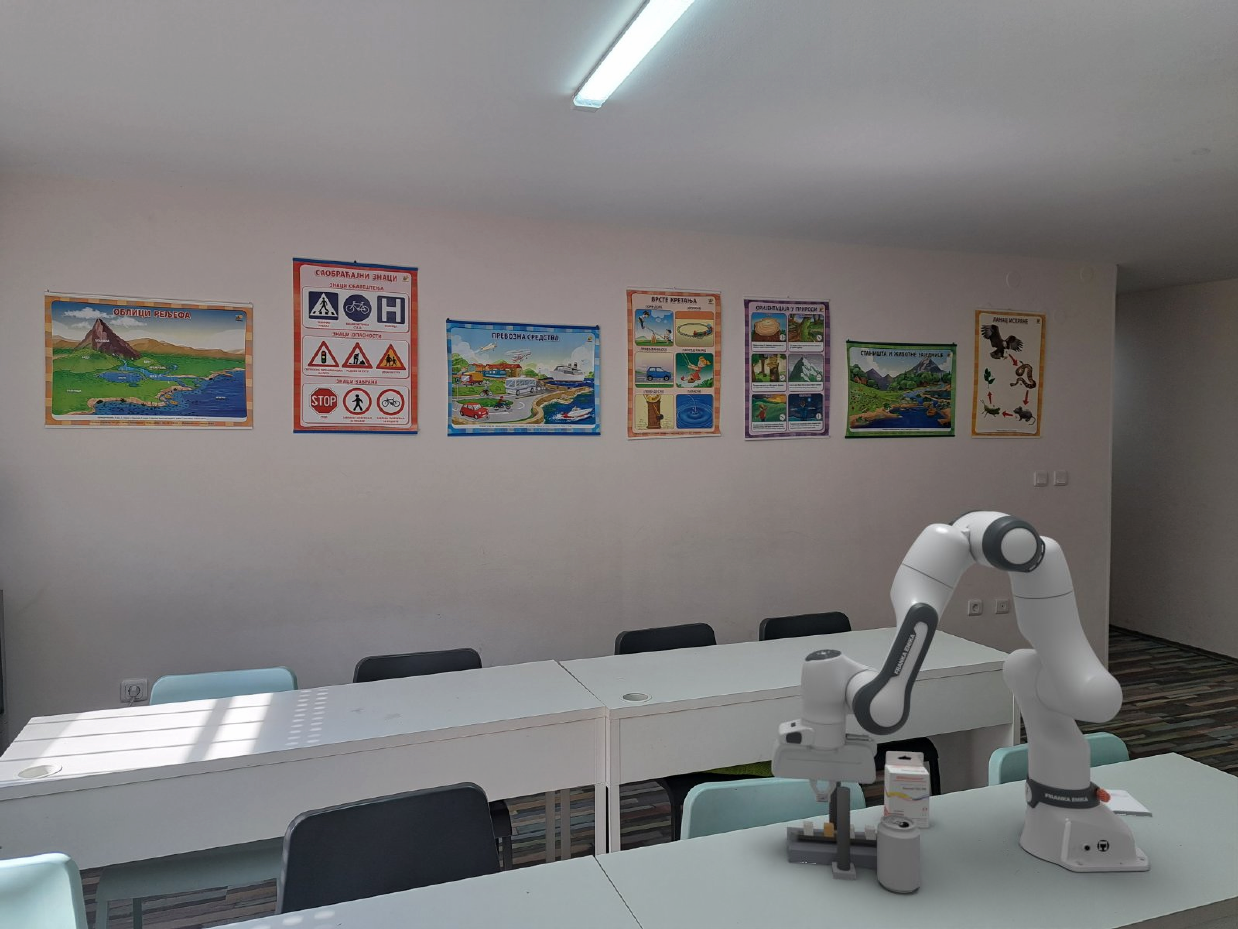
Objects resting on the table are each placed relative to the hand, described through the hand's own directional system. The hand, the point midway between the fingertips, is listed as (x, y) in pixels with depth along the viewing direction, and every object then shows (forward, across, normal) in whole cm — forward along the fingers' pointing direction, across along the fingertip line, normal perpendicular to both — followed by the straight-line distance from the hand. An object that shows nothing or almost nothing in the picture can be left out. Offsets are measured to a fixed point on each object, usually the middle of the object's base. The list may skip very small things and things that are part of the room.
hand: (822, 801), depth 164 cm
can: (+10, -13, +10) cm, 20 cm away
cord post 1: (+10, -3, -8) cm, 14 cm away
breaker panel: (+10, -3, 0) cm, 11 cm away
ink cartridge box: (+10, -19, -17) cm, 28 cm away
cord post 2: (+10, -3, +8) cm, 13 cm away
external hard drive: (+11, -69, -35) cm, 78 cm away
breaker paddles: (+7, -3, 0) cm, 8 cm away
